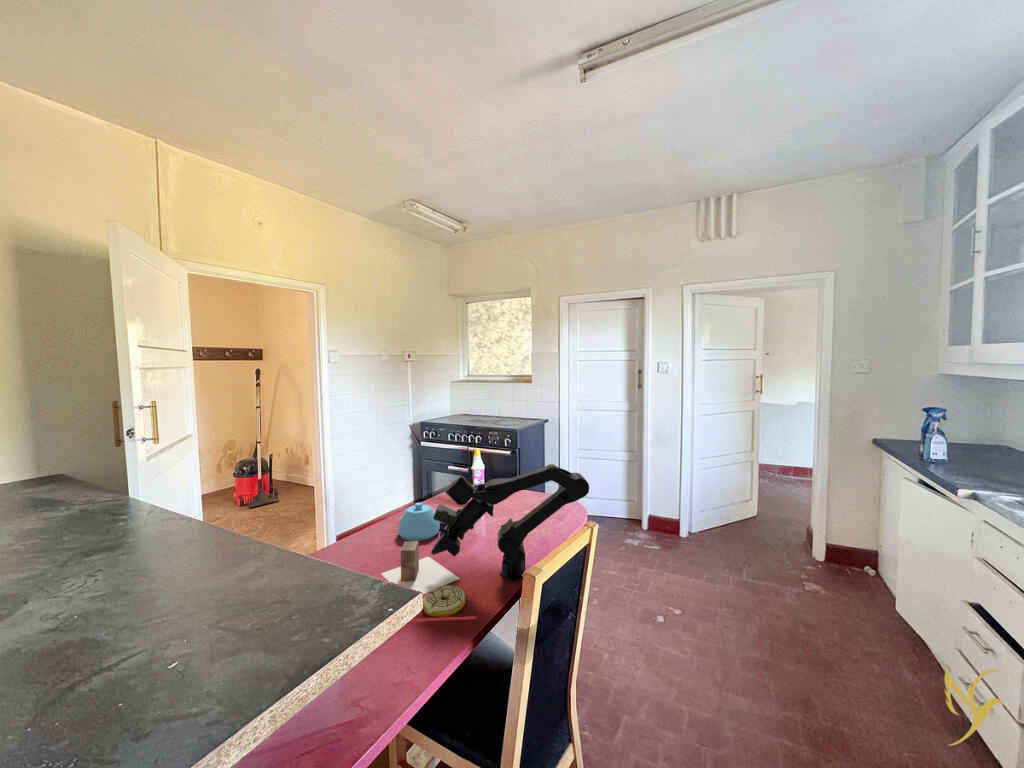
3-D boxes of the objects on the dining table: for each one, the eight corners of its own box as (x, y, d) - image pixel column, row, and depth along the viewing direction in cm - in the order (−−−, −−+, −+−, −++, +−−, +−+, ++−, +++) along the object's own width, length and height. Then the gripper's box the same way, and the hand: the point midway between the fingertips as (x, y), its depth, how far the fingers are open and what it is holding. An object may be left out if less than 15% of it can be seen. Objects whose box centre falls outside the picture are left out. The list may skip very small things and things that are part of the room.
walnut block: (418, 570, 121) (418, 541, 120) (415, 581, 115) (414, 550, 114) (405, 570, 120) (404, 541, 120) (401, 581, 114) (400, 550, 114)
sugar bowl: (416, 547, 138) (415, 513, 137) (389, 536, 147) (389, 505, 146) (448, 532, 150) (447, 502, 149) (421, 523, 159) (421, 494, 158)
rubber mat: (428, 558, 129) (428, 556, 129) (459, 580, 116) (459, 578, 116) (380, 575, 119) (380, 573, 119) (409, 602, 105) (409, 600, 105)
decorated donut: (420, 601, 106) (419, 587, 106) (459, 593, 110) (459, 579, 110) (426, 624, 96) (426, 609, 96) (469, 614, 100) (469, 600, 100)
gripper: (452, 487, 127) (417, 522, 126) (446, 508, 108) (405, 549, 108) (477, 510, 127) (443, 546, 127) (476, 535, 109) (435, 576, 109)
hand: (432, 553), depth 118 cm, fingers closed
